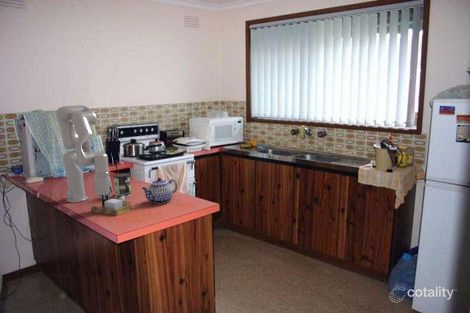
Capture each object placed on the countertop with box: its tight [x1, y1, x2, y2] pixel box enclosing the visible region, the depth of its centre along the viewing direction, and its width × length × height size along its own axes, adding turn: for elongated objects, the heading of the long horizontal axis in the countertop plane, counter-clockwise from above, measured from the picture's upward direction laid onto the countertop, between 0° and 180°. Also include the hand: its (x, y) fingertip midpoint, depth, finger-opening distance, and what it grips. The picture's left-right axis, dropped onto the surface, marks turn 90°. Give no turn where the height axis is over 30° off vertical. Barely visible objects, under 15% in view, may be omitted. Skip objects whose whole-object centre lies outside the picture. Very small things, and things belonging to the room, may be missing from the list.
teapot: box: [141, 177, 178, 205], centre depth 230 cm, size 25×15×15 cm, turn 132°
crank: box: [117, 185, 130, 197], centre depth 231 cm, size 10×3×5 cm, turn 153°
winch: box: [114, 195, 132, 204], centre depth 229 cm, size 10×8×4 cm
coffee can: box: [112, 172, 132, 198], centre depth 246 cm, size 10×10×14 cm
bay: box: [89, 203, 132, 217], centre depth 217 cm, size 20×11×3 cm, turn 64°
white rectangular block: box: [104, 198, 123, 210], centre depth 215 cm, size 8×6×6 cm
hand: (105, 205), depth 218 cm, fingers closed
